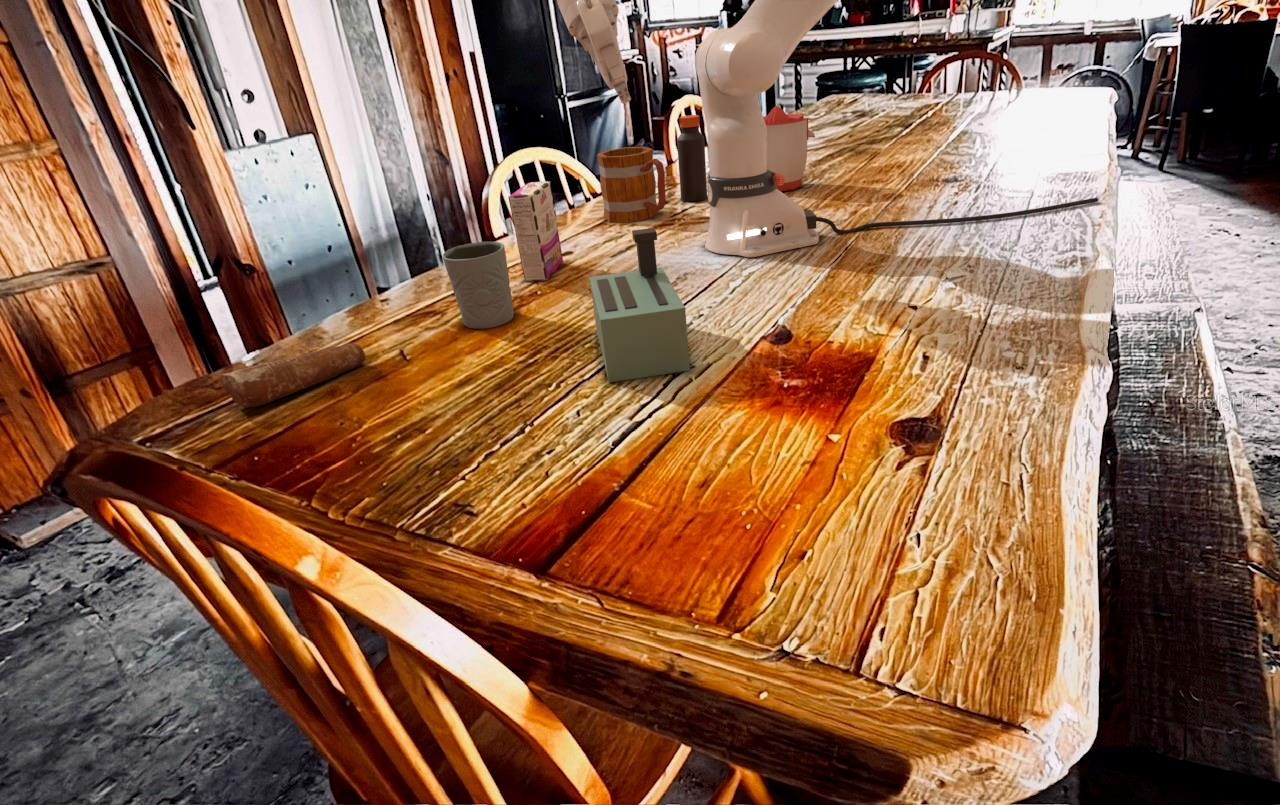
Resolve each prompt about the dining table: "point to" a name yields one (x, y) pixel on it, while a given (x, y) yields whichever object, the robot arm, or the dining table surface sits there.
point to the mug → (630, 184)
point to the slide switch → (646, 250)
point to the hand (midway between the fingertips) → (623, 90)
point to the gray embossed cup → (480, 283)
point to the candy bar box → (536, 230)
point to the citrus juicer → (787, 146)
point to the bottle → (691, 160)
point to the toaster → (639, 325)
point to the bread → (289, 374)
